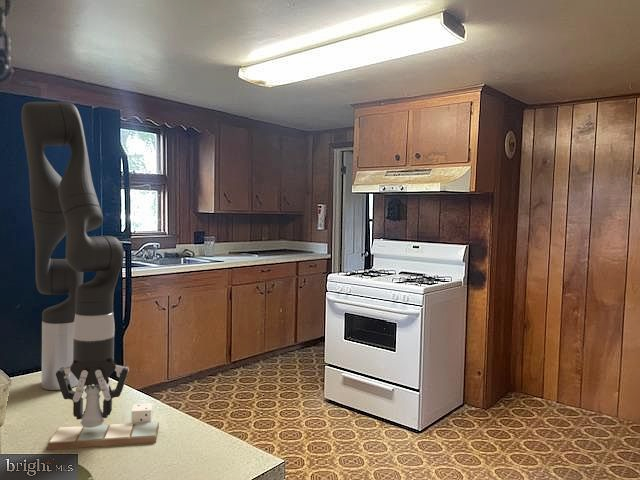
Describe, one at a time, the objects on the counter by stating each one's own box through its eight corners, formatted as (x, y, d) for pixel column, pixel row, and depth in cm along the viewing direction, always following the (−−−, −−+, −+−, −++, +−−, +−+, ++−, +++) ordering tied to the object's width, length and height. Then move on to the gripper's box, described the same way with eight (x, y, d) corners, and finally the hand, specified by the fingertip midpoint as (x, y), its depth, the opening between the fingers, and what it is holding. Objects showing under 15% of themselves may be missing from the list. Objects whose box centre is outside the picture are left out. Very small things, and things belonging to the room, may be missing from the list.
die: (133, 421, 110) (134, 403, 110) (152, 420, 111) (153, 402, 110) (131, 429, 106) (131, 410, 106) (150, 428, 107) (151, 409, 107)
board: (58, 433, 102) (58, 426, 102) (158, 427, 107) (158, 421, 107) (47, 449, 96) (47, 442, 96) (155, 442, 100) (156, 435, 100)
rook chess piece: (95, 429, 98) (95, 390, 97) (75, 426, 99) (75, 387, 98) (109, 420, 102) (109, 382, 102) (90, 417, 103) (90, 380, 103)
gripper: (49, 340, 94) (48, 427, 95) (128, 338, 97) (127, 423, 98) (60, 330, 101) (59, 411, 102) (134, 329, 105) (132, 408, 106)
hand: (92, 416), depth 100 cm, fingers closed on rook chess piece, 4 cm apart
